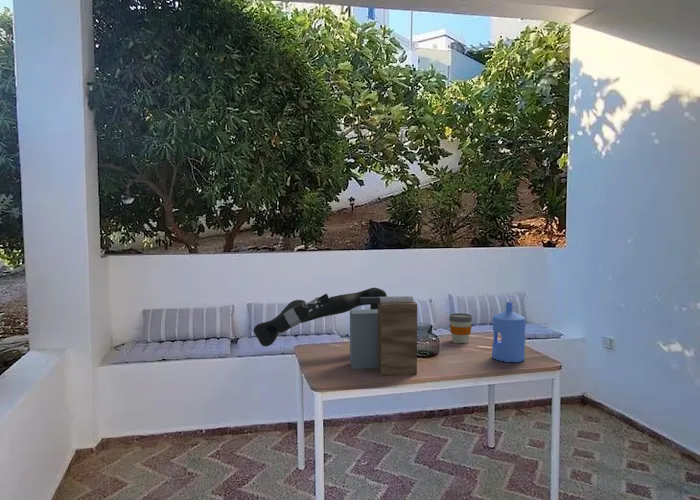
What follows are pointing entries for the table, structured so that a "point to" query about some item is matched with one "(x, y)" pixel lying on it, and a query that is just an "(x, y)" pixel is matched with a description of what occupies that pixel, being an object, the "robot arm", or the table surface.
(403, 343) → the upright wooden block
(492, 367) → the table surface
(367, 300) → the lever bar
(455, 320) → the reusable coffee cup
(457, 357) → the table surface
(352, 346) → the grey rectangular box
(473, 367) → the table surface
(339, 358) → the table surface
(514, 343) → the water jug
